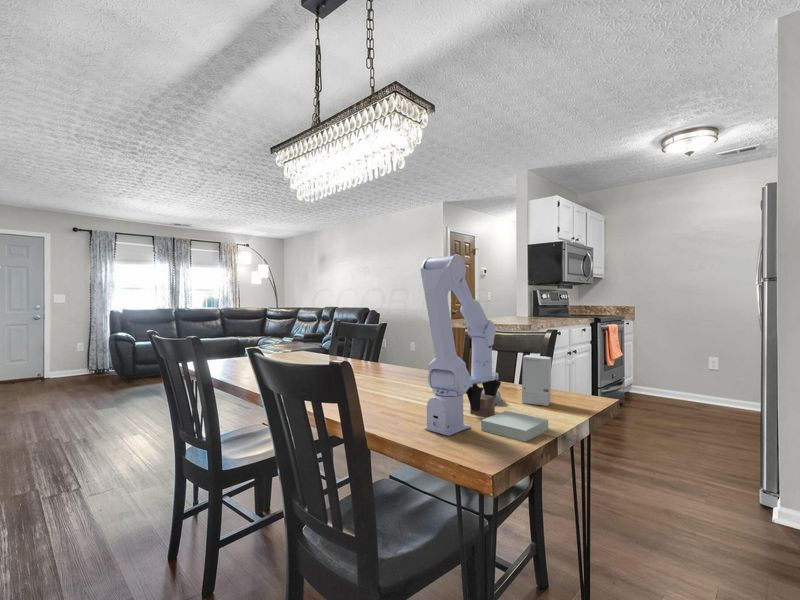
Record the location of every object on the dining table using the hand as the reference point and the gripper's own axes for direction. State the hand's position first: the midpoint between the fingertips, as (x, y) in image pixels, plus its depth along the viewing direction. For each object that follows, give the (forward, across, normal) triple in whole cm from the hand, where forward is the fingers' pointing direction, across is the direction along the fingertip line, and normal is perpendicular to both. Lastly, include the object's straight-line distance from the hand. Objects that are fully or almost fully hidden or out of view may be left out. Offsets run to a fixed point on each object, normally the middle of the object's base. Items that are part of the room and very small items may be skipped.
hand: (482, 407), depth 115 cm
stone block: (+2, +13, +8) cm, 16 cm away
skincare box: (+2, +22, -6) cm, 23 cm away
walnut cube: (+2, 0, 0) cm, 2 cm away
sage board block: (+2, -7, -14) cm, 16 cm away
